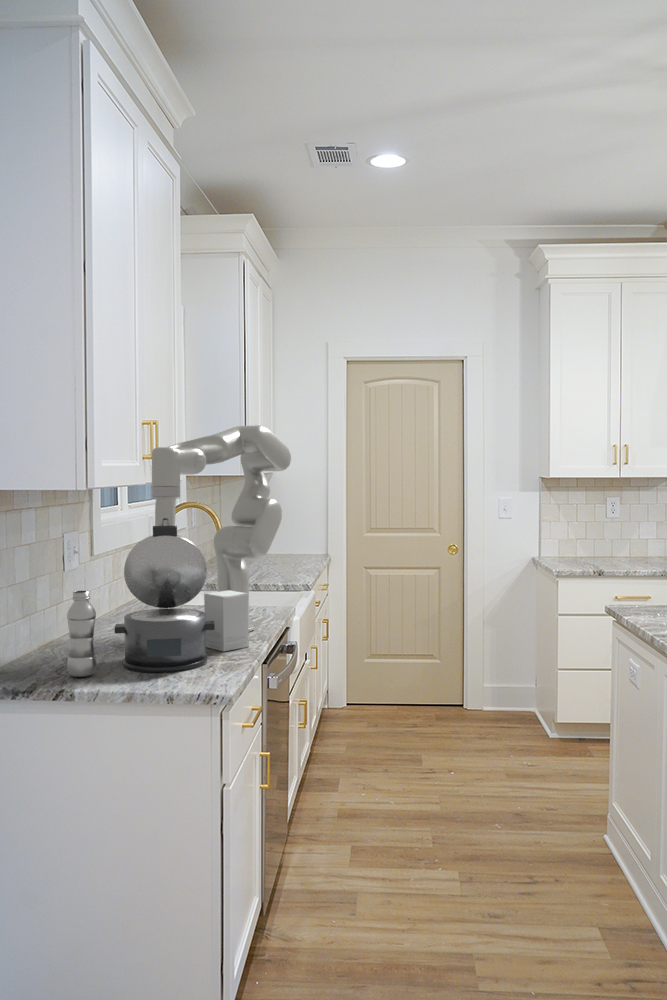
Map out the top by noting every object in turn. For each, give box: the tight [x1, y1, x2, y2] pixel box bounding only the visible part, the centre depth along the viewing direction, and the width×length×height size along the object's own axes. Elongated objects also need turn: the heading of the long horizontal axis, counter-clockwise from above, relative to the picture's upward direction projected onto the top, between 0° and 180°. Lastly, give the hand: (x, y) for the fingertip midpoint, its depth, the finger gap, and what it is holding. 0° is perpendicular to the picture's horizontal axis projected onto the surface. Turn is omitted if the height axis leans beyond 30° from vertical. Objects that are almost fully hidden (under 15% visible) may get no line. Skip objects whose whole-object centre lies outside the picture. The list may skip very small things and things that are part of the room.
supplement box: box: [203, 590, 250, 652], centre depth 217 cm, size 9×9×15 cm
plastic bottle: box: [66, 590, 97, 678], centre depth 186 cm, size 6×7×20 cm
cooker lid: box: [123, 525, 208, 609], centre depth 206 cm, size 23×21×4 cm
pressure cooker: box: [114, 607, 215, 674], centre depth 199 cm, size 22×24×12 cm
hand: (166, 560), depth 214 cm, fingers closed
